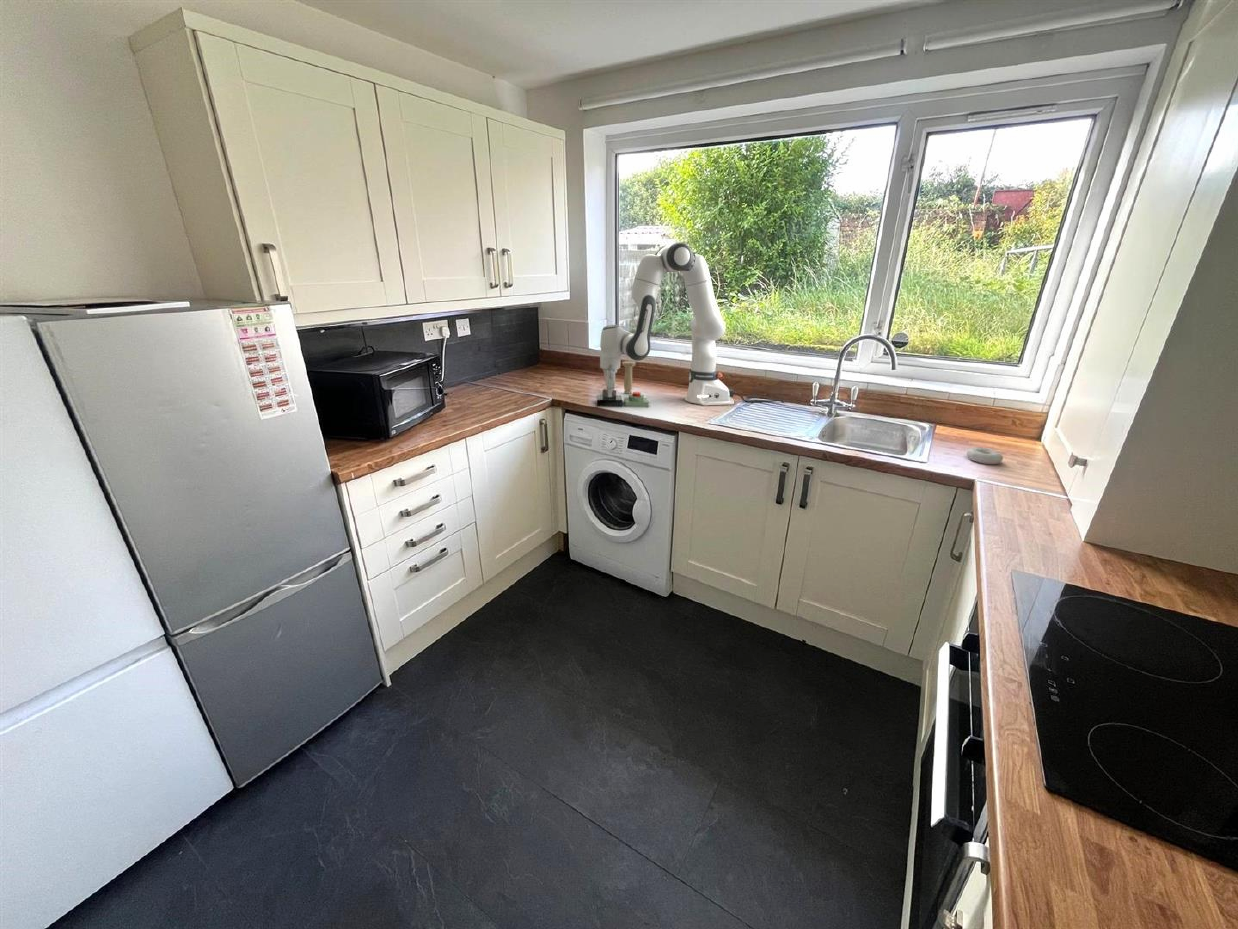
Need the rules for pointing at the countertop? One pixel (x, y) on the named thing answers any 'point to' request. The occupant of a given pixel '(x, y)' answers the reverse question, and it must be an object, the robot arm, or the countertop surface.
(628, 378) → the handle
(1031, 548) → the countertop surface
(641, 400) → the switch block
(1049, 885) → the countertop surface
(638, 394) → the button
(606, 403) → the hob panel
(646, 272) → the robot arm
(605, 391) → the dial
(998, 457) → the donut
